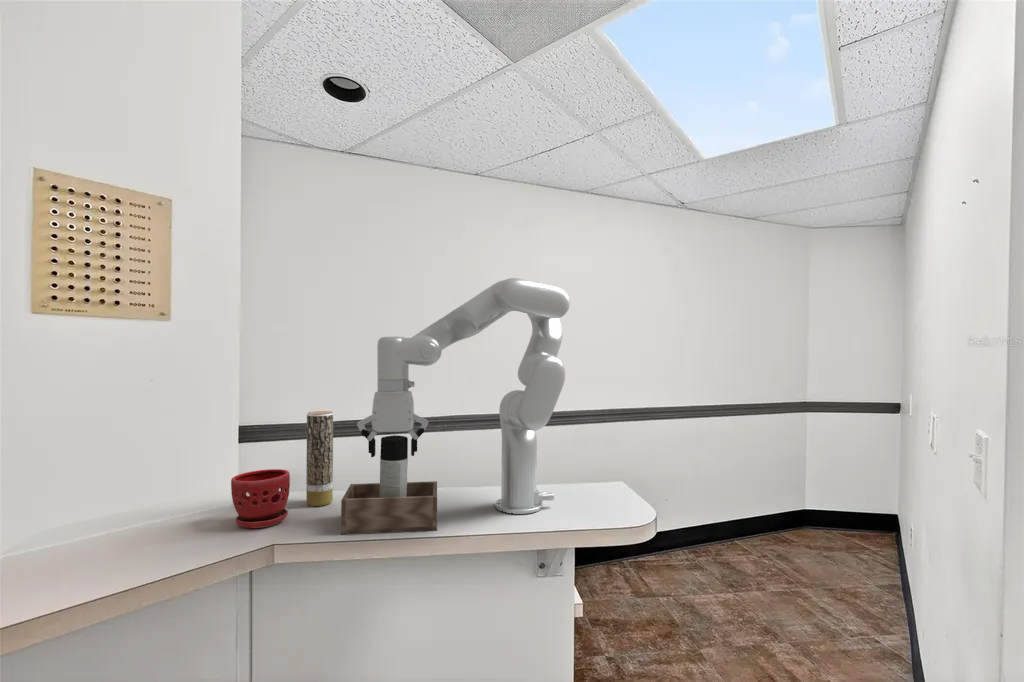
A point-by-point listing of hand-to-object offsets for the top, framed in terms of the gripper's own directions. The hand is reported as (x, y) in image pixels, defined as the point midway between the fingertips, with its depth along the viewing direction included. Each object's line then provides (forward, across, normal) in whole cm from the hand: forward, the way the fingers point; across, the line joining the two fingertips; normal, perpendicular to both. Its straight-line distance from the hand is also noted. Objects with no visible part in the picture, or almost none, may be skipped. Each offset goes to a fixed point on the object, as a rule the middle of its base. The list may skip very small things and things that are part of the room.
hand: (393, 455), depth 132 cm
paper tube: (+17, +21, -18) cm, 32 cm away
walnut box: (+17, 0, 0) cm, 17 cm away
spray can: (+16, 0, 0) cm, 16 cm away
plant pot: (+17, +32, -4) cm, 37 cm away
